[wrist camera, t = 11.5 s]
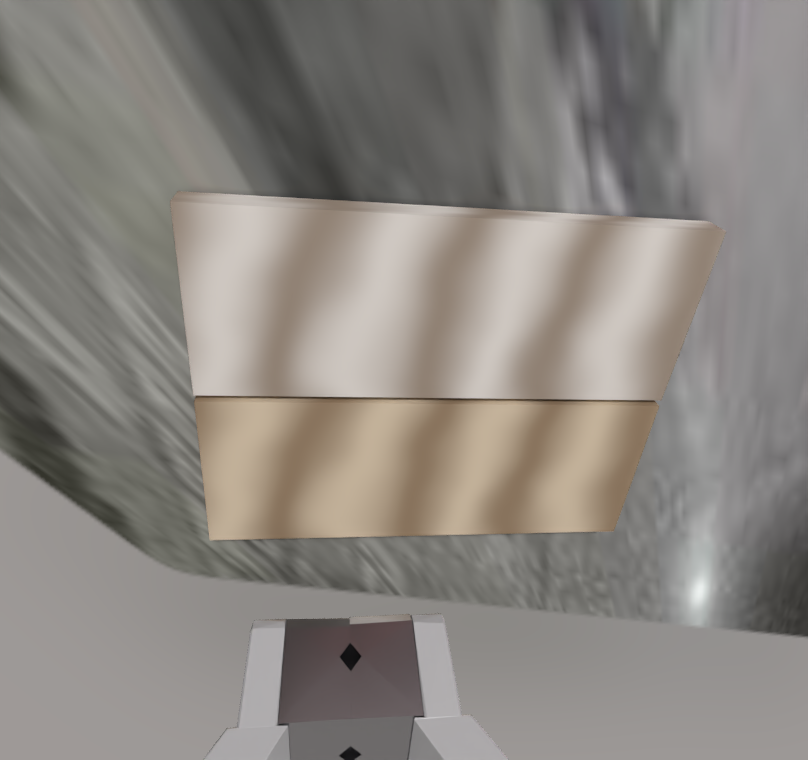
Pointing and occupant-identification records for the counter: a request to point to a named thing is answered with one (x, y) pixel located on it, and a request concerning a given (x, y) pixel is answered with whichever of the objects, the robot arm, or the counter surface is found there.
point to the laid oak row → (416, 465)
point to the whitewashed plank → (433, 299)
